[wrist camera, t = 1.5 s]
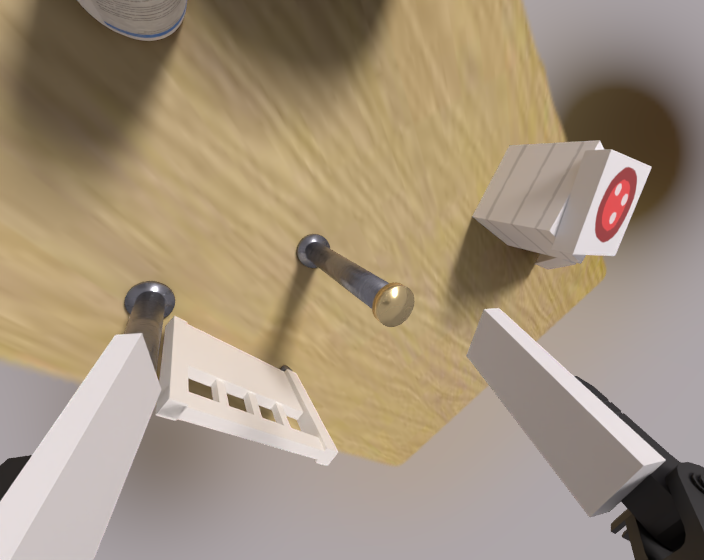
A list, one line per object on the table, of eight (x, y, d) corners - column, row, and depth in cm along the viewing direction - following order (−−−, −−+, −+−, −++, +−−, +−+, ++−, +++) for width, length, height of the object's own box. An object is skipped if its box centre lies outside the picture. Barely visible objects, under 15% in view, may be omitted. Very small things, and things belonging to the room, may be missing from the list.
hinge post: (115, 306, 34) (52, 437, 18) (144, 273, 35) (108, 372, 18) (157, 325, 37) (137, 454, 21) (184, 295, 37) (184, 398, 21)
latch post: (289, 253, 42) (363, 315, 25) (312, 226, 43) (399, 270, 25) (313, 272, 45) (394, 340, 28) (334, 248, 45) (426, 299, 28)
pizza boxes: (528, 271, 73) (615, 299, 59) (461, 220, 56) (559, 241, 42) (567, 201, 71) (668, 211, 57) (510, 126, 55) (632, 112, 40)
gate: (165, 318, 37) (153, 417, 22) (176, 305, 37) (171, 396, 23) (284, 375, 48) (327, 465, 34) (292, 366, 48) (338, 451, 34)
